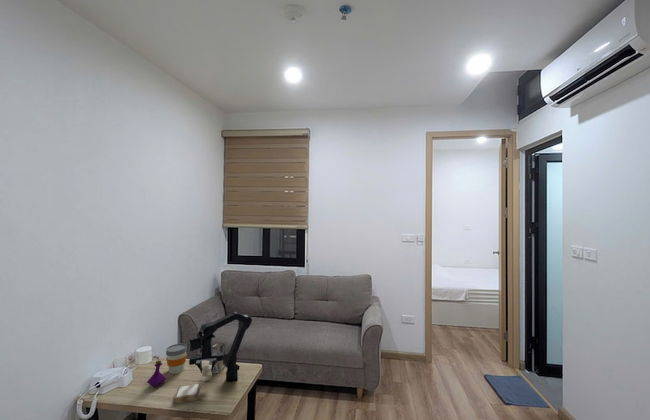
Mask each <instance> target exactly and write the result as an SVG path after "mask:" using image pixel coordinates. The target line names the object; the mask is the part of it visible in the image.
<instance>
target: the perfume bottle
mask: <svg viewBox="0 0 650 420" xmlns="http://www.w3.org/2000/svg"><path fill="white" fill-rule="evenodd" d="M153 359H156V362H155V364H154V367H155V370H154V372H153V374H152V376H151V377H150V378H149V379H148V380H147V384H148V385H150V386H151V387H152V388H158V387H160V386H162V385H163V383H165V382H166V380H167V377H166V376H164V374H163V373H161V372H160V368H161V366H162V365H163V363H162V360H160V355H159V354H156V355H154V356H153Z"/></svg>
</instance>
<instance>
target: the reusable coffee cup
mask: <svg viewBox="0 0 650 420" xmlns="http://www.w3.org/2000/svg"><path fill="white" fill-rule="evenodd" d="M187 351H188V348H187V344H185V343H175V344H171V345H170V346H168V347H166V350H165V356H166V363H167V367H168V373H169V374H171V375H174V374H179V373H182V372H183V371H184V370H185V365H186V361H187Z"/></svg>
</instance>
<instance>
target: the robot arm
mask: <svg viewBox="0 0 650 420" xmlns="http://www.w3.org/2000/svg"><path fill="white" fill-rule="evenodd" d="M234 321H237V323H238V324H237V326H238V327H237V328H238V329H237V332H236V334H235V337H234V339H233V342H232V343H231V346H230V348H229V349H230V350H229V351H228V352H227V353H226V352H225V355H224V353H223V352H219V353H217V355H213V356H212V354H213V350H212V345H213V341H212V340H213V339H214V338H216V335H215V334H214V333H216V332H217V330H218V329H220V328H222V327H224V326H226V325H229V324H230V323H232V322H234ZM252 322H253V319H252V317H251V316H249V315H247V314H241V313H238V312H236V311H233V312H231V313H230V314H227V315H226V316H223V317H222V318H219V319H217V320H214V321H210V322H209V321H208V322H205V323H204V324H202V325H201V327H200V329H199V331H198V332H197V334H196V337H192V338H188V341H187V343H186V347H187V351H188V352H189V353H191V352H194V351H197V350H199V352H200V354H201V356H200V357H199V356H198V355H191V356H190V357H189V360H188V365H189V366H192V365H193V366H197V368H198V370H199V371H200V373H201V375H202V367H203V363H202V361H209V360H210V359H213V361H212V369H211V372H212V371H213V368H214V365H215V363H217V362H218V361H222V360H223V365H224V366H225V367H224V368H226V372H225V379H226V382H227V383H229V382H236V381H238V380H239V374H238V371H239V370H240V365H239V364H237V360H238V357H237V356H238V351H239V349H240V346H241V344H242V341H243V340H244V336H245V333H246V331H247V330H248V329H249V328H250V326H251V325H252Z"/></svg>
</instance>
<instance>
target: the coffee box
mask: <svg viewBox="0 0 650 420" xmlns="http://www.w3.org/2000/svg"><path fill="white" fill-rule="evenodd" d="M225 344H226V343H225V342H218V341H217V342H215V343H214V344H212V350H213V354H212V356H213V355H217V353H219V352H223V353H224V355H225V353H226V347H225ZM208 361H209V362H208V363H209V364H208V365H212V361H213V359H210V360H208ZM224 368H226V367H225V366H224V365H223V360H222V361H218V362H217V363H215V365H214V368H213V371H212V374H213V373H215V374H219V373H220V372H221V371H222V370H223V369H224Z"/></svg>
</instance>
